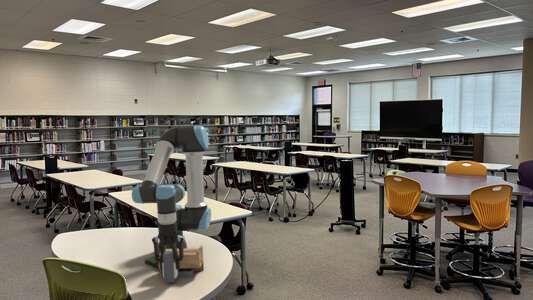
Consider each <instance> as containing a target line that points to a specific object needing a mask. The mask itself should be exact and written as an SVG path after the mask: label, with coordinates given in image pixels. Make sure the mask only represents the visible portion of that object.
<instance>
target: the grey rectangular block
mask: <svg viewBox="0 0 533 300" xmlns="http://www.w3.org/2000/svg"><path fill="white" fill-rule="evenodd" d="M174 262H175V259H174V255H173V252H172V251H166V252H165V253H164V254H163V264H164V278H163V279H164V284H165V283H166V284H167V283H170V284H171V283H175V282H176V281H177V278H178V276H177V277H176V278H174V264H173V263H174ZM179 269H180V268H179ZM179 269H178V270H179Z"/></svg>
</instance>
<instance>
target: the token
mask: <svg viewBox="0 0 533 300" xmlns="http://www.w3.org/2000/svg"><path fill="white" fill-rule="evenodd" d="M195 273H196V271H195V268H180V269H179V270H178V276H177V278H192V277H193V276H192V275H194V274H195Z"/></svg>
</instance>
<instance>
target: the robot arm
mask: <svg viewBox="0 0 533 300" xmlns="http://www.w3.org/2000/svg"><path fill="white" fill-rule="evenodd" d="M209 143H210V141H209V134H208V132H207V130H206V128H205V127H204V126H202V125H187V126H185V125H184V126H173V127H170V128H168V129H167V130H165V131H164V132H163V133H162V134H161V135H160V136H159V138H158V139H157V140H156V143H155V145H154V146H155V147H154V148H155V150H154V153H153V155H152V158H151V160H150V162H149V165H148V168H147V170H146V172H145V175H144V177H143V179H142V182H141V185H137V186H134V187H133V188H132V190H131V199H132V202H133V203H135V204H143V205H144V204H156V211H157V213H156V215H157V223H158V225H157V226H158V227H157V228H158V233H157V236H154V237H152V238H151V241H152V244H153V253H154V256H155V261H158V262H160V269H161V270H163V277H162V279H164V264H163V254H164V253H165V250H166V249H172V252H173V255H174V259H175V262H174V263H173V264H174V278H176V277H177V278H178V269H179V267H180V265H179V261H182V260H183V258H184V250H183V249H187V248H188V244H187V242H186V239H185V238H186V237H185V235H184V232H187V231H188V232H202V231H207V230H208V229H209V226H210V224H211V220H212V209H211V207H208V203H207V202H206V201H205V191H204V190H205V189H204V161H203V156H204V154H205V153H206V149H208V148H209V145H210V144H209ZM175 150H182V151H181V152H182V154H183V155H185V156H184V157H185V171H186V172H185V174H186V176H185V177H186V190H185V188H184V186H182V185H181V184H179V183H177V184H176V183H175V184H162V185H161V182H162V178H163V176H164V173H165V171H166V167H167V165H168V163H169V160H170V157H171V155H172V154H174V152H175ZM186 195H187V196H186ZM185 196H186V198H187V200H186V201H187V202H186V203H185V205H184V207H183V206H182V205H181V204H178V203H179V202H180V201H182V200H183V199H184V198H185ZM177 249H179V255H178V251H177ZM160 252H161V254H160ZM159 254H160V255H159Z"/></svg>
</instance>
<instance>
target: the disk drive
mask: <svg viewBox="0 0 533 300" xmlns="http://www.w3.org/2000/svg"><path fill="white" fill-rule="evenodd" d="M144 263H145V264H146V265H148V266H150V267H152V268H154V269H155V270H158V271H159V263H158V261H155V255H153V256H151V257H147V258H145V260H144Z"/></svg>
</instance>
